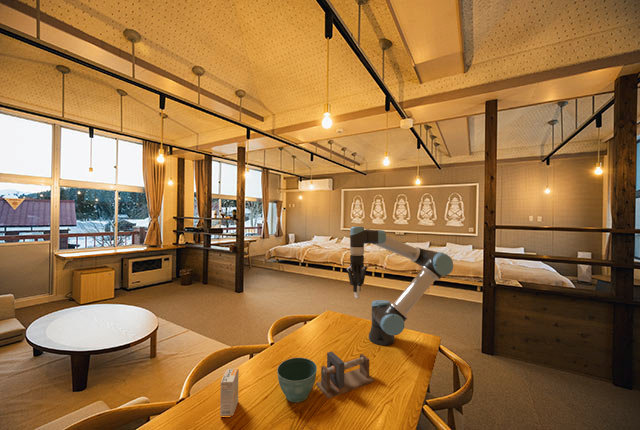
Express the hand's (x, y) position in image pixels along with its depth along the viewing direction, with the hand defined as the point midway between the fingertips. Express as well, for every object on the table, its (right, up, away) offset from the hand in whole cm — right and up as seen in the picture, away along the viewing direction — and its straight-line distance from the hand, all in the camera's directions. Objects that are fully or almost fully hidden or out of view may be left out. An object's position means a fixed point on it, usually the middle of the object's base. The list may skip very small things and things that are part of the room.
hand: (356, 297), depth 137 cm
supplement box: (-54, -28, -43) cm, 75 cm away
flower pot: (-30, -29, -35) cm, 54 cm away
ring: (-14, -26, -29) cm, 42 cm away
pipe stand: (-9, -29, -27) cm, 40 cm away
